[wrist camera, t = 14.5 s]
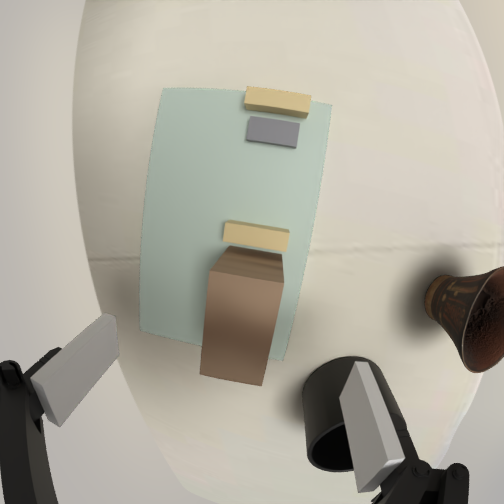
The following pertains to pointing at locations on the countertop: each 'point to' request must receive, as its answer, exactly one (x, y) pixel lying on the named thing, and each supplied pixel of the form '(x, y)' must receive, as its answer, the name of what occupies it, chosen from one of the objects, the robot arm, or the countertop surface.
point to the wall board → (227, 198)
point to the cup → (471, 316)
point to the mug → (334, 413)
